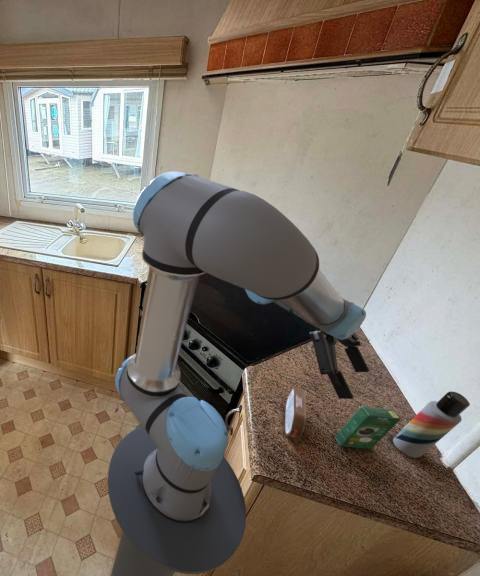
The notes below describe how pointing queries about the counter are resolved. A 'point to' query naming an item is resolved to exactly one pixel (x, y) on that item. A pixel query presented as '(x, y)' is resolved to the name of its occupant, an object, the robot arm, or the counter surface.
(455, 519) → the counter surface
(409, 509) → the counter surface
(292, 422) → the tin
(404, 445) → the lotion bottle
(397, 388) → the counter surface
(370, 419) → the coffee box
